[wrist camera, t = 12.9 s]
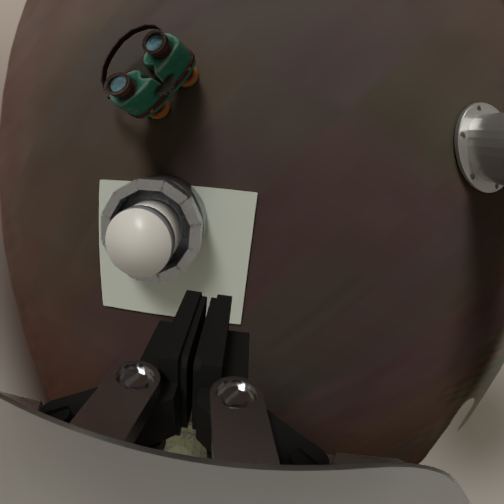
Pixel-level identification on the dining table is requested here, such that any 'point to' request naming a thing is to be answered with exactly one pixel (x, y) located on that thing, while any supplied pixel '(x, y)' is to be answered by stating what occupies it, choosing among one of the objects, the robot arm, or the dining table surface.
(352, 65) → the dining table surface
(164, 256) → the cap
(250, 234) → the mat
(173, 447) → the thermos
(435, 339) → the dining table surface
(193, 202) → the grey ring
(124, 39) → the binoculars
